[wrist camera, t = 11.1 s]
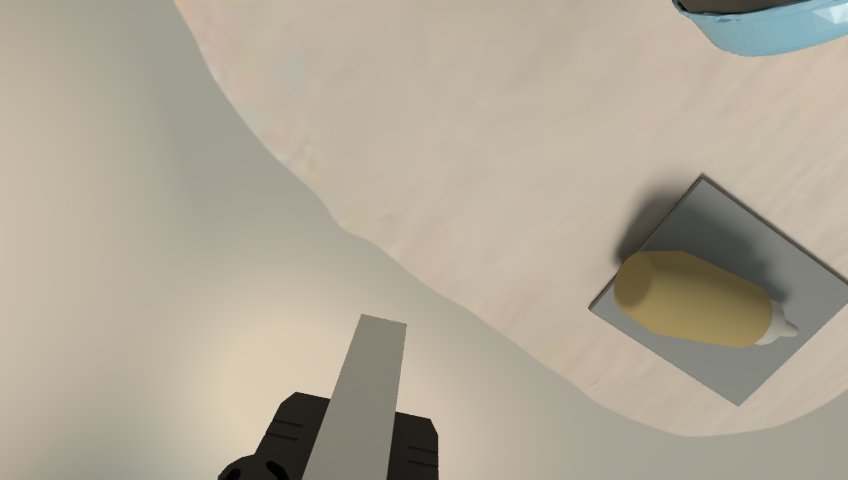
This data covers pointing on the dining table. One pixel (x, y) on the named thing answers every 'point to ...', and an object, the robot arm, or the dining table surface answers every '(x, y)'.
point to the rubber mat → (749, 259)
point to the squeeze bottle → (697, 301)
